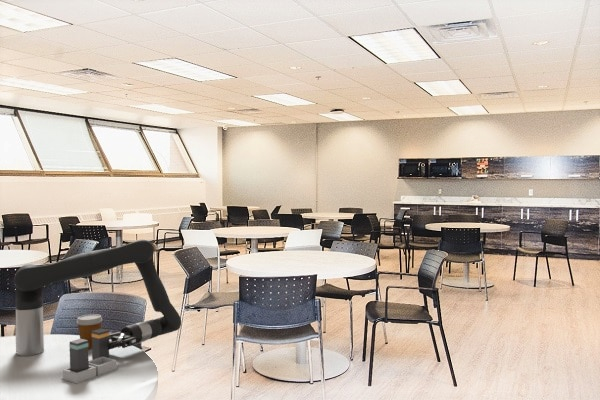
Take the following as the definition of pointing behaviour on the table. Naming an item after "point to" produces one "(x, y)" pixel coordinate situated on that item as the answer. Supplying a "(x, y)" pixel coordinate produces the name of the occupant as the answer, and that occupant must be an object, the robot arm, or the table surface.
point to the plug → (100, 343)
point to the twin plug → (79, 355)
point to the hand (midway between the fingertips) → (100, 344)
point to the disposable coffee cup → (88, 326)
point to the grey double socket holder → (90, 370)
